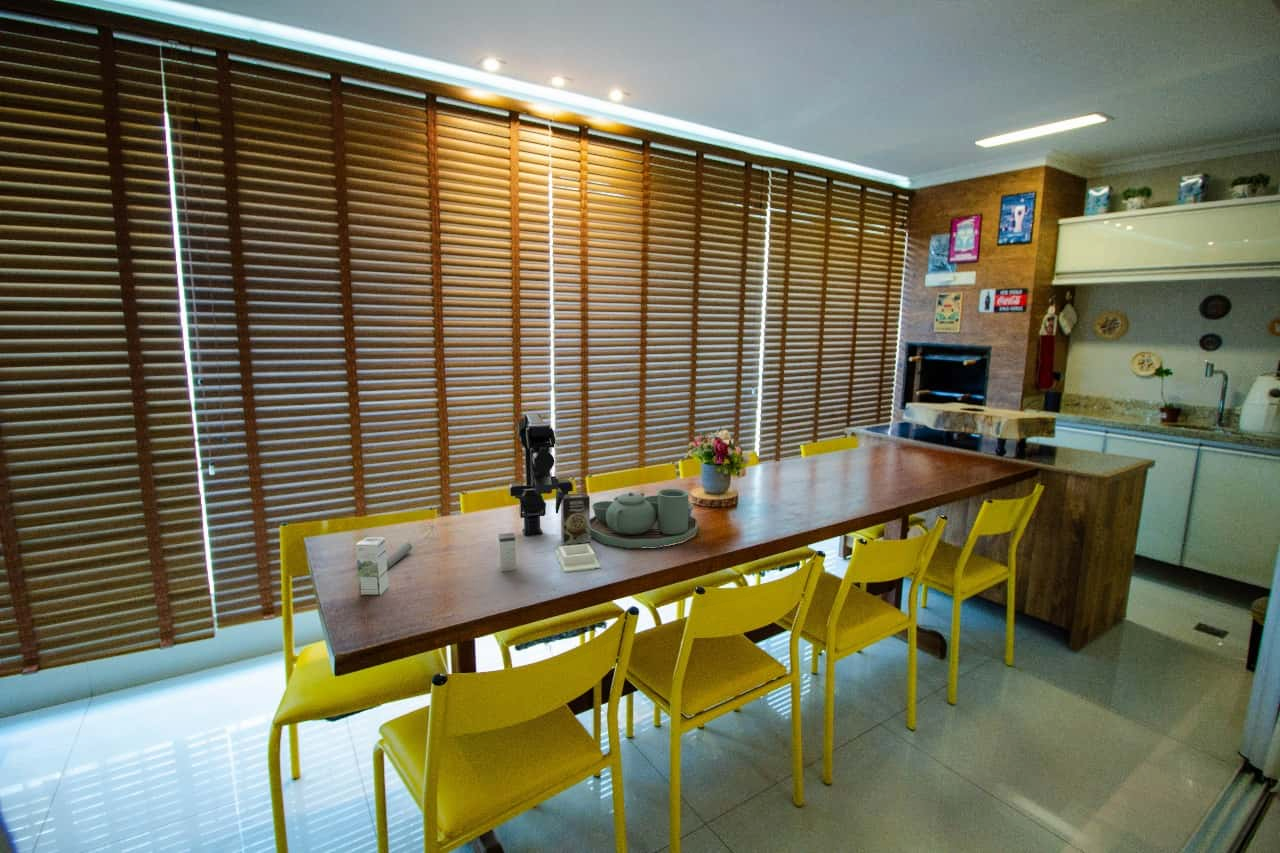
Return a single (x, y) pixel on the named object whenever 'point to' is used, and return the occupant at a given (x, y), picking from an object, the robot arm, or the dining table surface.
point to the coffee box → (575, 518)
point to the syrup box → (372, 566)
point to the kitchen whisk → (404, 549)
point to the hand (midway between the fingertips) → (541, 514)
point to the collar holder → (577, 558)
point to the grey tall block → (507, 552)
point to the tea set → (644, 519)
